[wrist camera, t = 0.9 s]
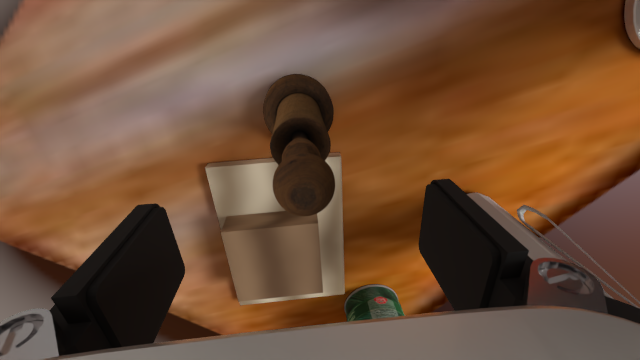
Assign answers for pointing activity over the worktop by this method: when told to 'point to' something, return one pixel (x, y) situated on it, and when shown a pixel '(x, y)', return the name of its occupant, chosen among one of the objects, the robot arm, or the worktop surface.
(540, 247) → the water bottle
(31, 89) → the worktop surface
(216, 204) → the birch board
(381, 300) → the canned tomato
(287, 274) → the walnut base block
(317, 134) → the brown wooden pepper mill
